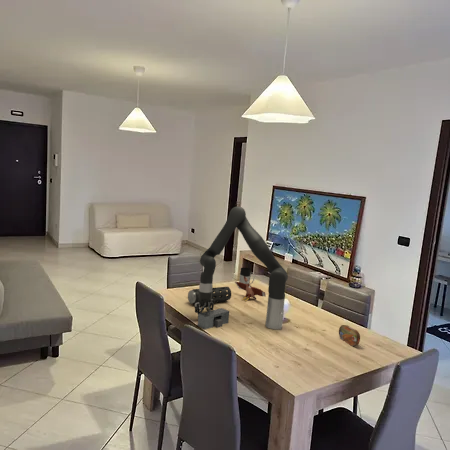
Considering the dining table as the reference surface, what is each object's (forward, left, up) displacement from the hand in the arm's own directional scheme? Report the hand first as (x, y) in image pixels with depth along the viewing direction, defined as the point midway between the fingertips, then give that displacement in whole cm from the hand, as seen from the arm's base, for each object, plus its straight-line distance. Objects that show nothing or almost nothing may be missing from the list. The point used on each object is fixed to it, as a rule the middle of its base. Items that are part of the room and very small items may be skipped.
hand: (203, 318), depth 235 cm
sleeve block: (-7, +5, -1) cm, 9 cm away
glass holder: (-9, -77, -1) cm, 78 cm away
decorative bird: (-16, -50, -1) cm, 53 cm away
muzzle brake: (+6, -30, -1) cm, 31 cm away
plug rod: (-5, +3, -1) cm, 6 cm away
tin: (-80, -4, -1) cm, 80 cm away
